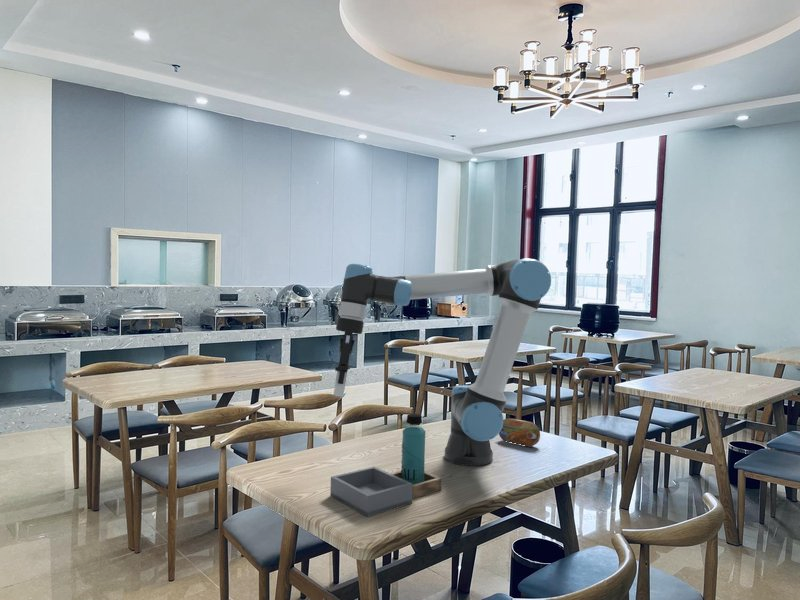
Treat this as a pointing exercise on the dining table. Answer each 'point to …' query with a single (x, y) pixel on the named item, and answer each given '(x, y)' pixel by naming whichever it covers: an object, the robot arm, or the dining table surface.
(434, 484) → the box
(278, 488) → the dining table surface
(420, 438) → the beverage bottle
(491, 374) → the robot arm
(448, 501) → the dining table surface
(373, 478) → the tub
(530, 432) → the tin
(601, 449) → the dining table surface
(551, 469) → the dining table surface
